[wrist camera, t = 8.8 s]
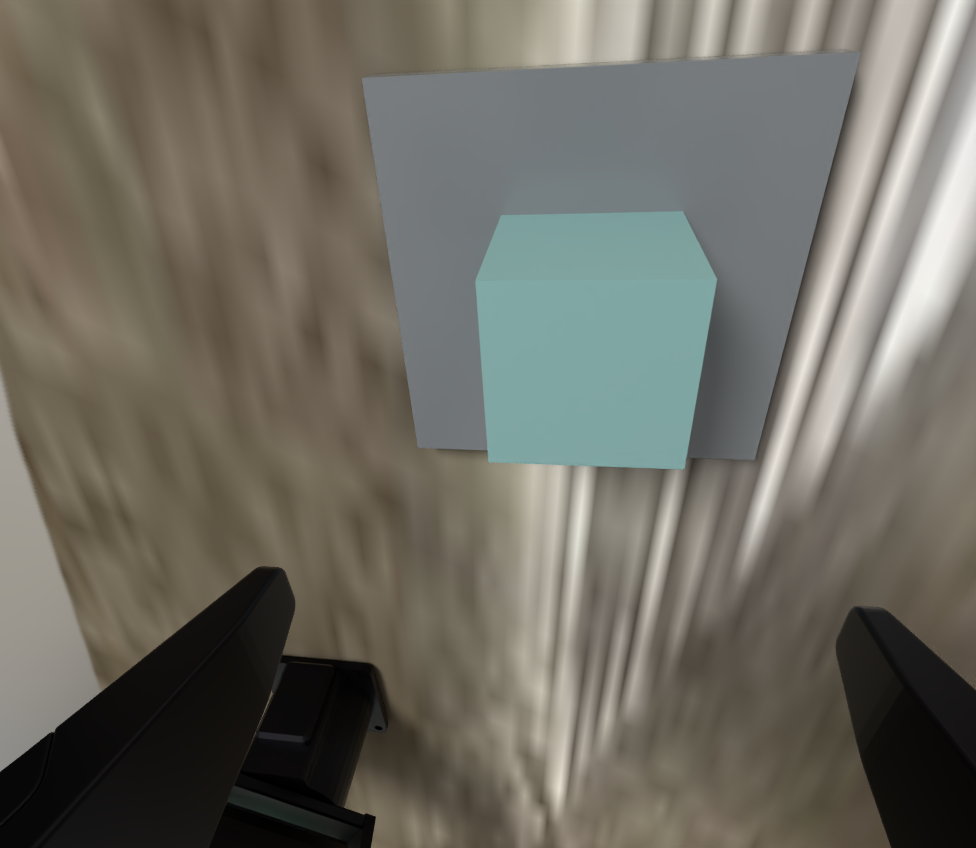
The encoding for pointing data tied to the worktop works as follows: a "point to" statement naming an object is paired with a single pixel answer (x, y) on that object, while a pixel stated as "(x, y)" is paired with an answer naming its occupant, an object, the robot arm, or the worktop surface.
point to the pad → (607, 204)
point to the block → (593, 338)
